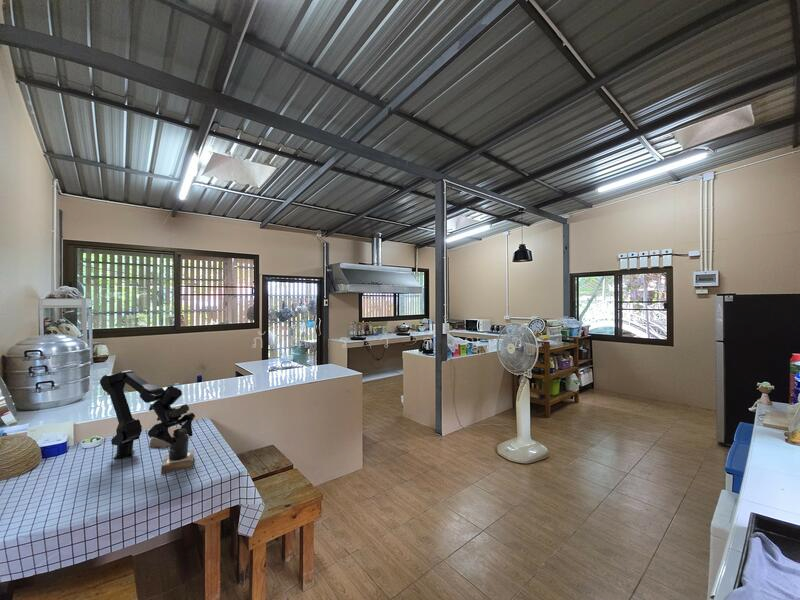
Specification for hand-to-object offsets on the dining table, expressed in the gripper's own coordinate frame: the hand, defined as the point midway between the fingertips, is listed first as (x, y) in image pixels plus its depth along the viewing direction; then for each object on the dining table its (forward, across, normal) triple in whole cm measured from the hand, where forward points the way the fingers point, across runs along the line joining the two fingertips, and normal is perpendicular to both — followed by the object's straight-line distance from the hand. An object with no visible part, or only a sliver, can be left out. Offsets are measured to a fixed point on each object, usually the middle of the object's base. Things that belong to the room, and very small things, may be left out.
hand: (182, 439), depth 139 cm
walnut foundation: (+7, 0, +9) cm, 11 cm away
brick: (-12, +20, +28) cm, 37 cm away
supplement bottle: (+5, 0, +7) cm, 8 cm away
